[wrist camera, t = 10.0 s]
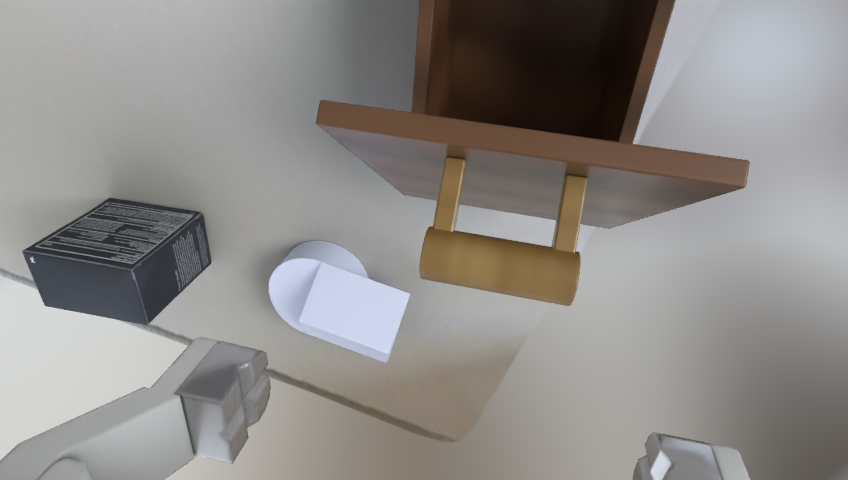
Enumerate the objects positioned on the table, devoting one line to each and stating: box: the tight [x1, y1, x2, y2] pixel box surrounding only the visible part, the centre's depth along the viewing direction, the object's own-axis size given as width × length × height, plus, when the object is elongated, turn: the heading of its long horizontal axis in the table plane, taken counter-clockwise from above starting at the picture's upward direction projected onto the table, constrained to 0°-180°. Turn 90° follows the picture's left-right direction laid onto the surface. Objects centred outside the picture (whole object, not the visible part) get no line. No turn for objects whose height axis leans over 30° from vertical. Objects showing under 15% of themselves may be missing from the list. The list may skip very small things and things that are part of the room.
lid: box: [316, 100, 750, 306], centre depth 23 cm, size 16×13×5 cm
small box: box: [22, 198, 211, 325], centre depth 48 cm, size 11×6×10 cm, turn 87°
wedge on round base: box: [269, 240, 410, 363], centre depth 48 cm, size 9×7×13 cm
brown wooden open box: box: [412, 0, 675, 144], centre depth 32 cm, size 16×13×11 cm
